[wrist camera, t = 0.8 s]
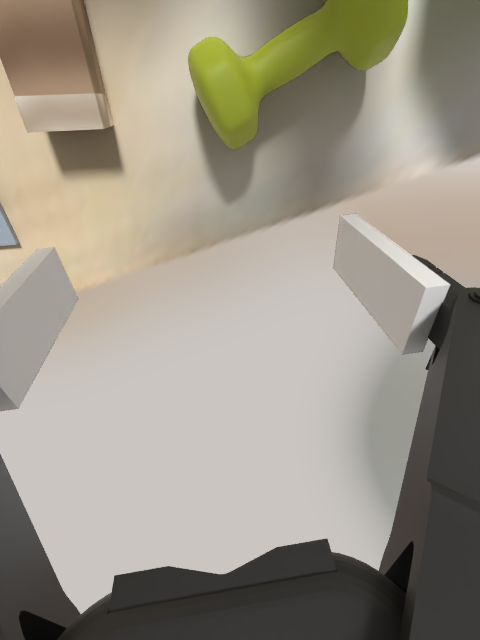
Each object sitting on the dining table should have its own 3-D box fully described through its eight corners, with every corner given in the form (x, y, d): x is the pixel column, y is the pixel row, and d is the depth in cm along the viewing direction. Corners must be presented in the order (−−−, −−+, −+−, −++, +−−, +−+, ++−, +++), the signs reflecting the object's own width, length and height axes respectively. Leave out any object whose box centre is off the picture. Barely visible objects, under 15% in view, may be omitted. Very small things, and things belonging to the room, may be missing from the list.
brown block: (-17, -53, 22) (-53, -80, 18) (72, -52, 22) (51, -79, 19) (46, 128, 28) (27, 132, 25) (113, 125, 29) (103, 128, 26)
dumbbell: (222, 150, 31) (229, 162, 25) (179, 58, 27) (175, 47, 21) (376, 58, 28) (423, 48, 23) (357, -62, 24) (410, -113, 18)
